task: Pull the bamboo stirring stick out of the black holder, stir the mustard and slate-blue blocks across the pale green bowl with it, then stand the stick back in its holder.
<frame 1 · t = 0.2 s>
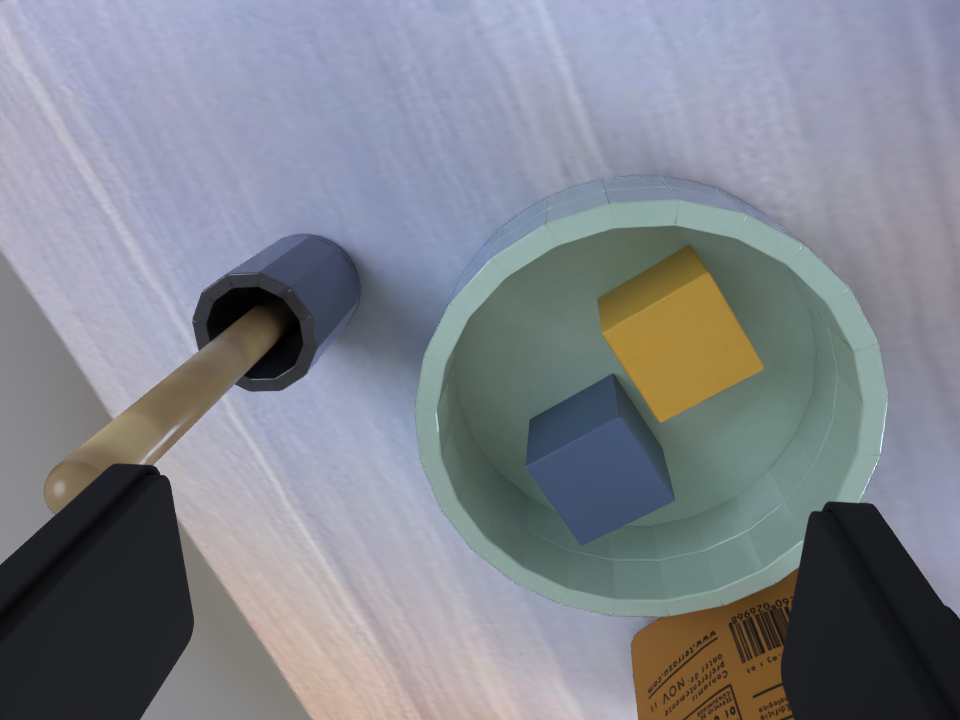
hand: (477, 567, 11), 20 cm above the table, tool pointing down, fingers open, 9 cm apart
coffee package: (774, 634, 35), on the table
block a: (668, 314, 29), point 1 cm above the table, touching bowl
bowl: (629, 370, 31), on the table
stick: (306, 288, 30), resting on holder
holder: (309, 284, 31), on the table
block b: (595, 433, 31), point 1 cm above the table, touching bowl
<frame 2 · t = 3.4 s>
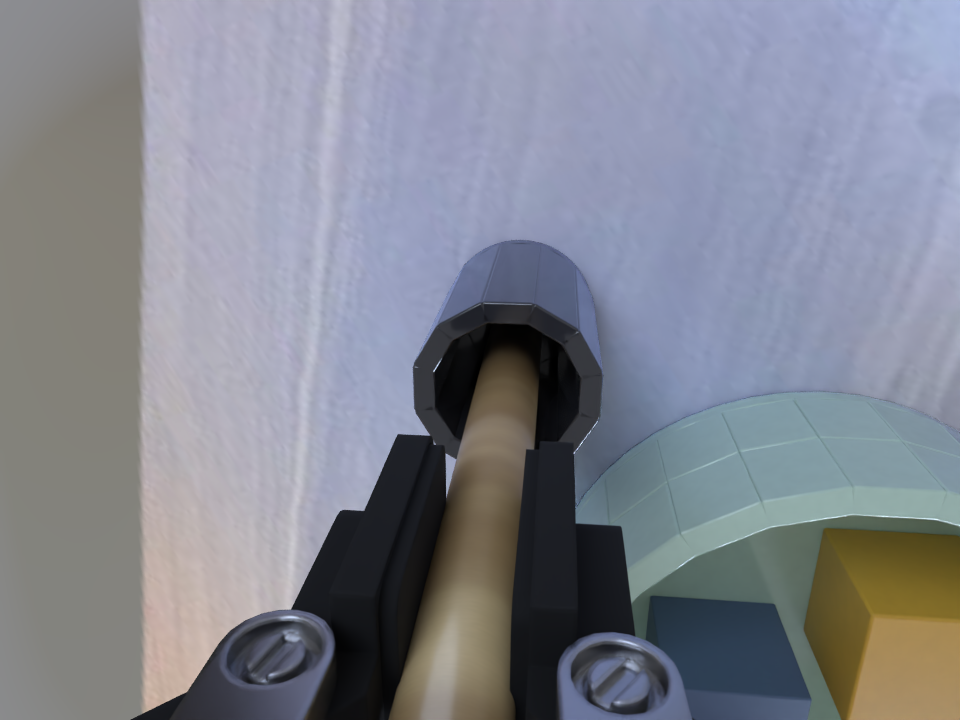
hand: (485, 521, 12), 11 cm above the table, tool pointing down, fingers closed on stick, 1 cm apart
block a: (877, 583, 24), point 1 cm above the table, touching bowl
bowl: (783, 604, 25), on the table
stick: (519, 314, 22), resting on holder, touching gripper
holder: (520, 309, 22), on the table
block b: (705, 646, 25), point 1 cm above the table, touching bowl
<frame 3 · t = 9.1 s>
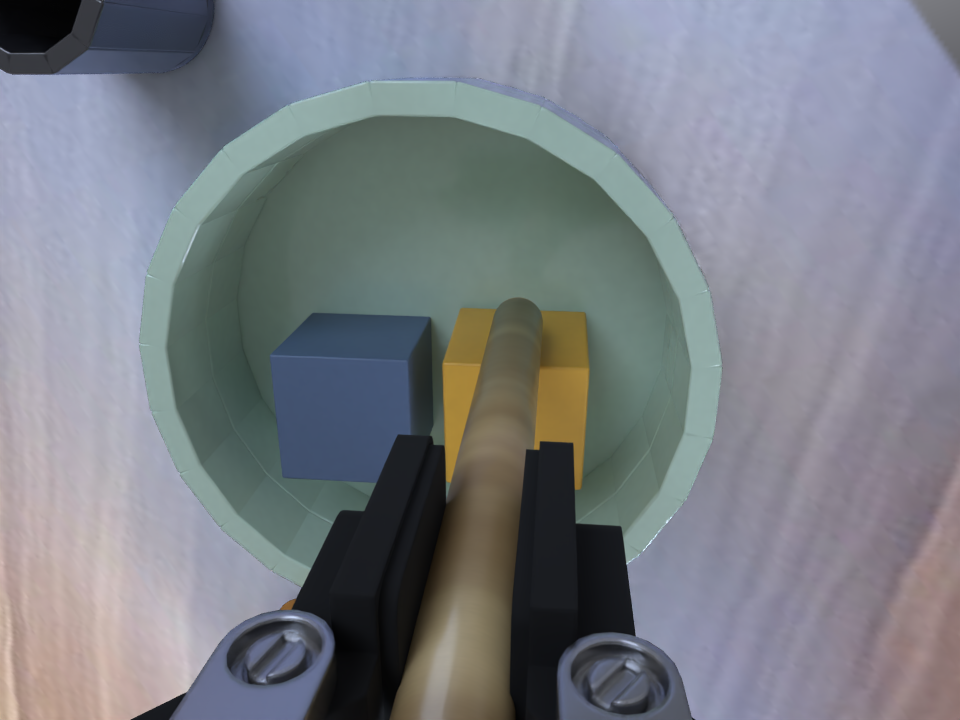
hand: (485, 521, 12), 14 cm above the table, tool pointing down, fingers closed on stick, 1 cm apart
block a: (521, 365, 25), point 1 cm above the table, tilted 5°, touching bowl
bowl: (449, 325, 25), on the table
stick: (519, 314, 22), point 3 cm above the table, touching gripper
block b: (374, 370, 26), point 1 cm above the table, touching bowl
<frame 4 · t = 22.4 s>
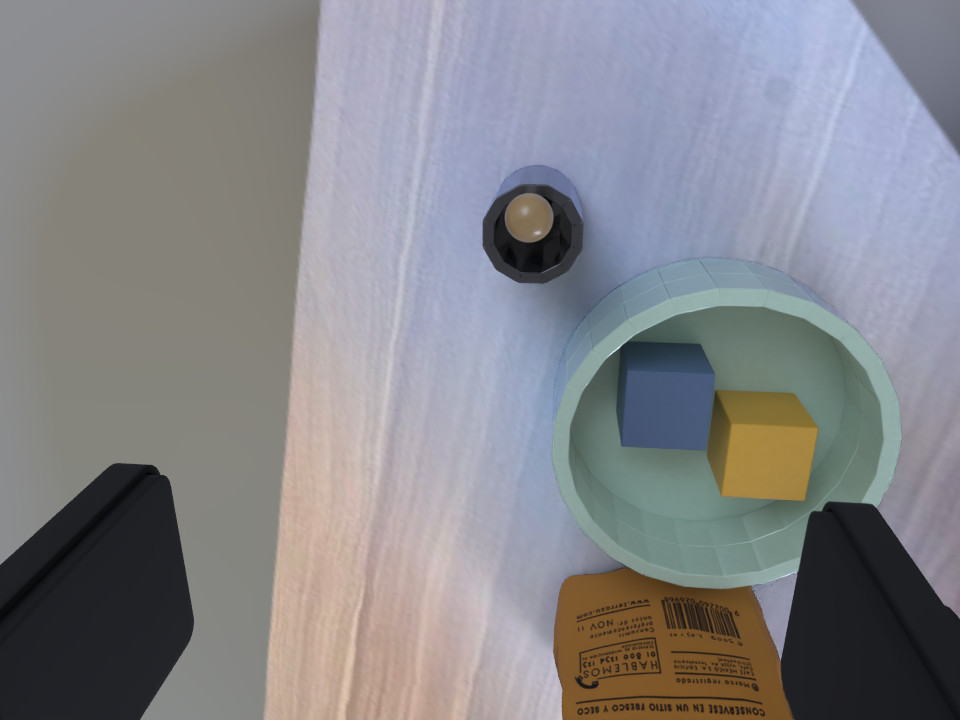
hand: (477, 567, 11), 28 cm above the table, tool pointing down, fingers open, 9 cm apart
coffee package: (656, 623, 46), on the table
block a: (749, 425, 40), point 1 cm above the table, touching bowl
bowl: (701, 401, 40), on the table
stick: (536, 212, 37), point 1 cm above the table, tilted 10°, touching holder
holder: (536, 208, 37), on the table
block b: (657, 378, 39), point 1 cm above the table, touching bowl
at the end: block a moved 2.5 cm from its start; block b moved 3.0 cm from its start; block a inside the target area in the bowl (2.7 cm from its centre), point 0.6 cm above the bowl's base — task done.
